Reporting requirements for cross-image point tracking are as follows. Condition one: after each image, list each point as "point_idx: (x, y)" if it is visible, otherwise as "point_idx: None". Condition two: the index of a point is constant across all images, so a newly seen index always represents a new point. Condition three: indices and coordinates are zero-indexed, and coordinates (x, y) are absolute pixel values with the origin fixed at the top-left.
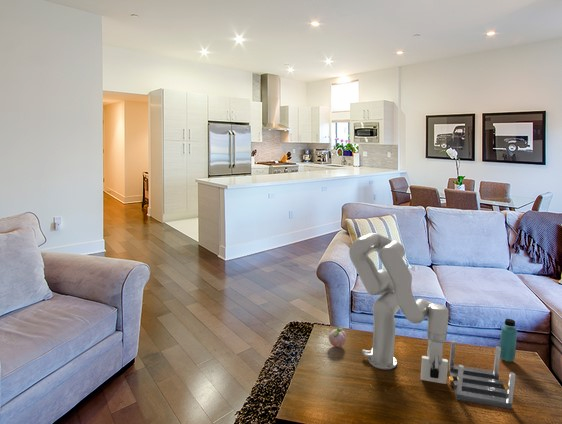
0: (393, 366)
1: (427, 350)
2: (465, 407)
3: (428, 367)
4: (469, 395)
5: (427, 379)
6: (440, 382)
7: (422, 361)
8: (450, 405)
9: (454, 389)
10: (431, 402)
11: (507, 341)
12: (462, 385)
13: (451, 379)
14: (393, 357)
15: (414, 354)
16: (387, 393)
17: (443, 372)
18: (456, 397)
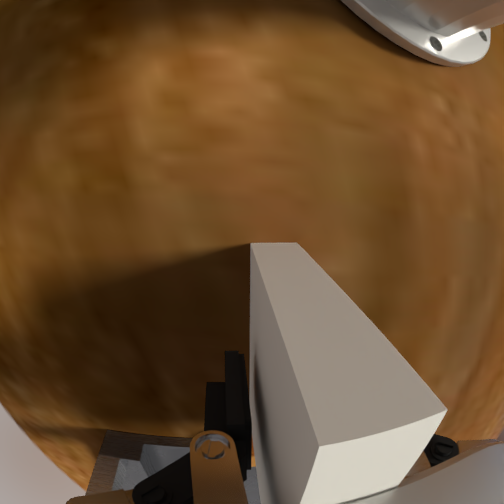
0: (364, 9)
1: (499, 501)
2: (73, 440)
3: (266, 395)
4: (127, 487)
5: (251, 305)
6: (249, 388)
7: (295, 379)
8: (42, 390)
9: (183, 445)
10: (5, 298)
11: None
12: None
13: (251, 461)
14: (450, 13)
15: None
16: (18, 21)
17: (259, 467)
18: (110, 436)
